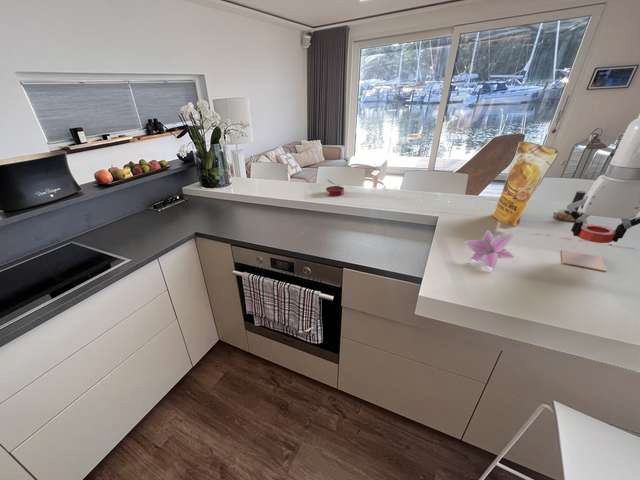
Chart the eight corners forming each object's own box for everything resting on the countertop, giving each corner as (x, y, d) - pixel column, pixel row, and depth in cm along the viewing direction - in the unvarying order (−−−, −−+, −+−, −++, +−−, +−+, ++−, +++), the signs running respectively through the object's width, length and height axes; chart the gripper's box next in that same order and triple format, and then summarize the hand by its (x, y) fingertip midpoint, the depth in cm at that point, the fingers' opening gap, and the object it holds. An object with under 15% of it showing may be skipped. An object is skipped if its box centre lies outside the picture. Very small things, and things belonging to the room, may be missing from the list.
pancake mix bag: (505, 212, 119) (529, 139, 105) (531, 231, 103) (563, 148, 89) (487, 212, 120) (508, 141, 106) (509, 231, 104) (538, 149, 90)
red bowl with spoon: (328, 199, 166) (329, 182, 166) (345, 198, 162) (346, 180, 162) (322, 196, 156) (323, 177, 156) (341, 194, 152) (341, 176, 151)
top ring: (609, 235, 81) (614, 227, 79) (614, 245, 76) (619, 236, 75) (575, 230, 85) (579, 222, 84) (577, 239, 80) (581, 231, 79)
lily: (458, 255, 95) (458, 237, 88) (495, 240, 92) (499, 220, 85) (480, 283, 87) (482, 265, 80) (522, 267, 84) (528, 248, 77)
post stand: (583, 218, 108) (597, 189, 102) (586, 227, 102) (600, 196, 96) (552, 215, 113) (563, 187, 107) (552, 222, 107) (565, 194, 101)
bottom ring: (582, 216, 107) (584, 210, 106) (583, 222, 102) (586, 217, 101) (556, 213, 111) (558, 208, 110) (557, 219, 106) (559, 214, 105)
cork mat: (601, 257, 85) (602, 256, 84) (605, 271, 79) (606, 270, 79) (560, 251, 90) (561, 250, 89) (562, 263, 84) (562, 262, 84)
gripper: (677, 171, 69) (636, 238, 78) (578, 167, 79) (552, 226, 88) (687, 179, 64) (643, 249, 73) (581, 173, 74) (553, 236, 83)
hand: (594, 236), depth 80 cm, fingers closed on top ring, 7 cm apart
